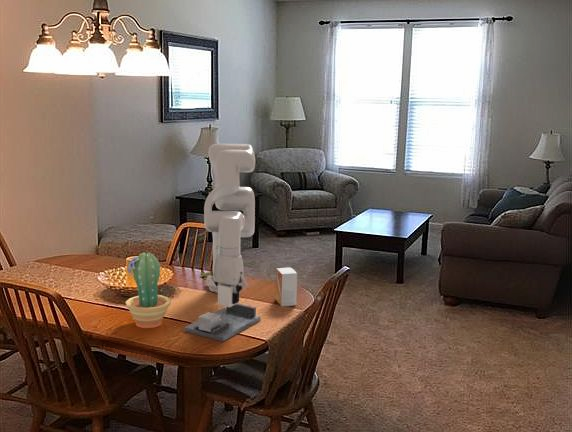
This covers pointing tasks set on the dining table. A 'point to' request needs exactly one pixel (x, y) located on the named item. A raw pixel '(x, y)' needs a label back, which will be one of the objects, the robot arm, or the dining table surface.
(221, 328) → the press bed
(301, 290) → the dining table surface
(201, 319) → the block
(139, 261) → the potted cactus
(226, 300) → the block
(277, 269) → the small box
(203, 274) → the lily flower
